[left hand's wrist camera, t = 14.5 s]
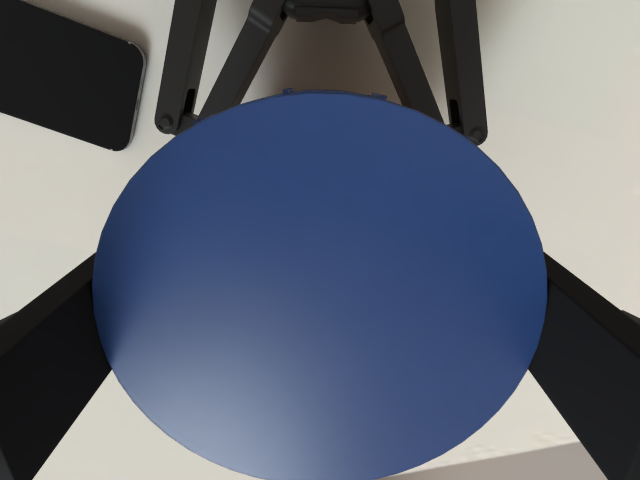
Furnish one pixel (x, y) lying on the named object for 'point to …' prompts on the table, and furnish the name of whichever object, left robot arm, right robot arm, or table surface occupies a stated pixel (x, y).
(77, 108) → the smartphone
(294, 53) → the table surface
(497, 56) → the table surface
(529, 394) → the table surface
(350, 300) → the lid
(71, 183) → the table surface
